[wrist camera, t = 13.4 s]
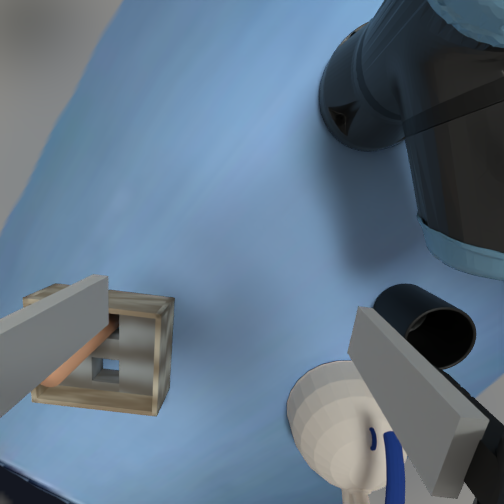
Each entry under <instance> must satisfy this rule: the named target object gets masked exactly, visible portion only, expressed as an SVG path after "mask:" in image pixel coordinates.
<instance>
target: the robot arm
mask: <svg viewBox="0 0 504 504" xmlns="http://www.w3.org/2000/svg"><path fill="white" fill-rule="evenodd" d="M319 102H320V110H321V114H322V117H323V120H324V122H325V124H326V126H327V128H328V129H329V131H330V132H331V134H332V135H333V136H334V137H335V138H336V139H337V140H338V141H340V142H341V143H342V144H344V145H346V146H348V147H350V148H352V149H356V150H360V151H377V150H382V149H385V148H388V147H390V146H393V145H395V144H398V143H400V142H402V141H403V140H405V143H406V148H407V153H408V158H409V163H410V169H411V174H412V180H413V186H414V191H415V197H416V203H417V209H418V212H417V219H418V221H419V223H420V225H421V226H422V229H423V233H424V237H425V241H426V245H427V247H428V249H429V251H430V252H431V254H432V255H433V256H434V257H436V258H437V259H439V260H441V261H442V262H443V263H444V264H446V265H447V266H449V267H452V268H454V269H456V270H459V271H462V272H465V273H468V274H472V275H476V276H480V277H485V278H490V279H496V280H503V281H504V0H384V2H383V3H382V5H381V6H380V8H379V9H378V11H377V13H376V14H375V16H374V17H373V18H372V19H371V20H370V21H369V22H367V23H365V24H363V25H361V26H360V27H358V28H357V29H355V30H354V31H353V32H351V33H350V34H349V35H348V36H347V37H346V38H345V39H344V40H343V41H342V42H341V43H340V45H339V46H338V47H337V49H336V50H335V52H334V53H333V55H332V57H331V59H330V61H329V62H328V64H327V66H326V68H325V71H324V73H323V76H322V80H321V84H320V92H319ZM108 324H109V308H108V276H103V275H95V274H93V275H91V276H89V277H87V278H85V279H83V280H81V281H79V282H77V283H74V284H72V285H70V286H68V287H66V288H64V289H62V290H60V291H58V292H56V293H54V294H51V295H49V296H47V297H45V298H43V299H41V300H39V301H37V302H35V303H33V304H31V305H29V306H26V307H24V308H22V309H20V310H18V311H16V312H14V313H12V314H10V315H8V316H6V317H4V318H1V319H0V418H1V417H2V416H3V415H4V414H6V413H7V412H8V411H9V410H10V409H11V408H12V407H14V406H15V405H16V404H17V403H18V402H19V401H21V400H22V399H23V398H24V397H25V396H26V395H27V394H29V393H30V392H31V391H32V390H33V389H34V388H36V387H37V386H38V385H39V384H40V383H41V382H42V381H44V380H45V379H46V378H47V377H48V376H49V375H51V374H52V373H53V372H54V371H55V370H56V369H57V368H59V367H60V366H61V365H62V364H63V363H64V362H66V361H67V360H68V359H69V358H70V357H71V356H72V355H74V354H75V353H76V352H77V351H78V350H79V349H81V348H82V347H83V346H84V345H85V344H86V343H87V342H89V341H90V340H91V339H92V338H93V337H94V336H96V335H97V334H98V333H99V332H100V331H101V330H102V329H104V328H105V327H106V326H107V325H108ZM347 353H348V354H349V356H350V358H351V360H352V361H353V363H354V365H355V366H356V368H357V370H358V372H359V373H360V375H361V377H362V378H363V380H364V382H365V384H366V385H367V387H368V389H369V390H370V392H371V394H372V396H373V397H374V399H375V401H376V402H377V404H378V406H379V407H380V409H381V411H382V413H383V414H384V416H385V418H386V419H387V421H388V423H389V425H390V426H391V428H392V430H393V431H394V433H395V435H396V437H397V438H398V440H399V442H400V443H401V445H402V447H403V449H404V450H405V452H406V454H407V455H408V457H409V459H410V460H411V462H412V464H413V466H414V467H415V469H416V471H417V472H418V474H419V476H420V478H421V479H422V481H423V483H424V484H425V486H426V488H427V490H428V491H429V493H430V495H431V496H438V497H447V498H456V499H457V498H458V496H459V493H460V491H461V489H462V486H463V484H464V482H465V483H466V484H467V486H468V487H469V489H470V490H471V492H472V493H473V494H474V495H475V499H474V502H473V504H504V425H503V424H502V423H501V422H499V421H498V420H497V419H496V418H495V417H494V416H493V415H492V414H491V413H489V411H488V410H487V409H485V408H484V407H483V406H482V405H481V404H480V403H479V402H478V401H477V400H476V399H475V398H474V397H471V396H470V394H469V393H468V392H467V391H466V390H465V389H464V388H463V387H460V384H458V383H457V382H456V381H455V380H454V379H453V378H452V377H451V376H450V375H449V374H447V373H446V372H444V371H443V370H441V369H440V368H438V367H436V366H435V365H432V364H430V363H429V362H428V361H427V360H426V359H425V358H424V357H423V356H422V355H421V354H420V353H419V352H418V351H417V350H416V349H415V348H414V347H413V346H412V345H411V344H410V343H409V342H407V341H406V340H405V339H404V338H403V337H402V336H401V335H400V334H399V333H398V332H397V331H396V330H395V329H394V328H393V327H392V326H391V325H390V324H389V323H388V322H387V321H386V320H385V319H383V318H382V317H381V316H380V315H379V314H378V313H377V312H376V311H375V310H374V309H373V308H367V307H359V306H358V310H357V314H356V318H355V322H354V327H353V331H352V335H351V339H350V344H349V348H348V352H347Z"/></svg>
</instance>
